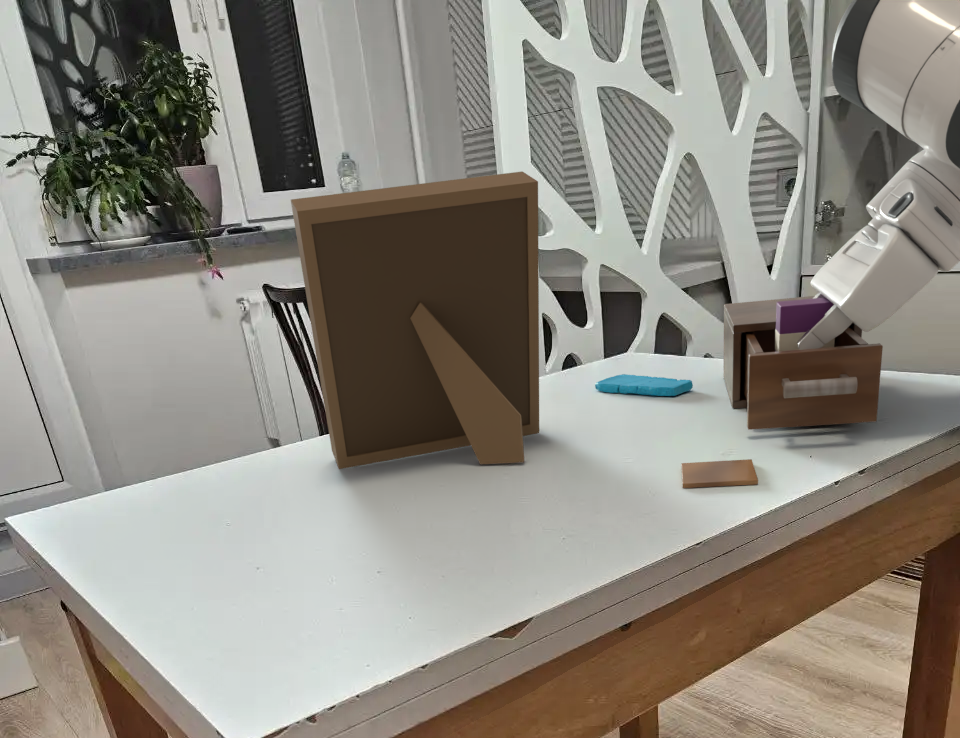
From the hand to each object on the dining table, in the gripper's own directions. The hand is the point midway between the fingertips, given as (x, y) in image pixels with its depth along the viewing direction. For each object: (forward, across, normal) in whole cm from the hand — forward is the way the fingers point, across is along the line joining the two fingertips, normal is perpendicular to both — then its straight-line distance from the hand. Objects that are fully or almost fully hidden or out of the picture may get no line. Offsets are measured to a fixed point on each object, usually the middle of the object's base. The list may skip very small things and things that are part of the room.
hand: (796, 345), depth 88 cm
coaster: (+11, +18, -1) cm, 21 cm away
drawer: (+4, +2, +5) cm, 6 cm away
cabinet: (+4, -14, +6) cm, 15 cm away
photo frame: (+29, +7, -19) cm, 36 cm away
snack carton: (+3, 0, +4) cm, 5 cm away
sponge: (+16, -18, -6) cm, 25 cm away
